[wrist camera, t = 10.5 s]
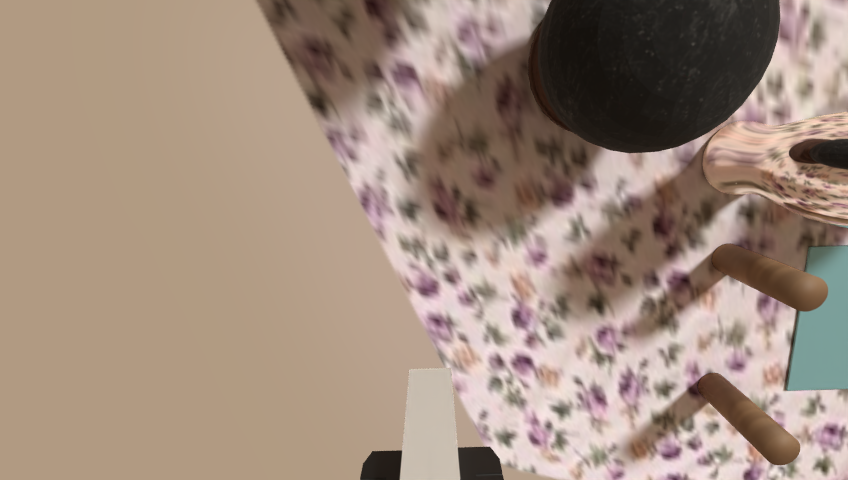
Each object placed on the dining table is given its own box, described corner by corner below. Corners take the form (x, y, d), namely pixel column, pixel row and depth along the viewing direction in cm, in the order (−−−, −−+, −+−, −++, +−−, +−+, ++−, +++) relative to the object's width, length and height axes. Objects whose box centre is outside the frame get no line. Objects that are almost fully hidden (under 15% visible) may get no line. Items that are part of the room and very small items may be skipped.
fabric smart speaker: (591, -67, 34) (709, -208, 20) (716, 45, 36) (909, -10, 22) (482, 81, 37) (515, 52, 23) (604, 179, 39) (707, 210, 24)
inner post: (713, 244, 40) (792, 277, 31) (743, 242, 40) (831, 275, 31) (710, 272, 41) (786, 312, 32) (740, 271, 41) (824, 310, 32)
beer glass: (705, 112, 37) (881, 103, 23) (790, 117, 37) (1020, 112, 23) (688, 196, 39) (841, 238, 24) (769, 201, 39) (971, 246, 24)
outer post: (699, 373, 43) (767, 436, 34) (727, 372, 43) (802, 435, 34) (696, 397, 44) (762, 465, 35) (724, 396, 44) (797, 464, 35)
